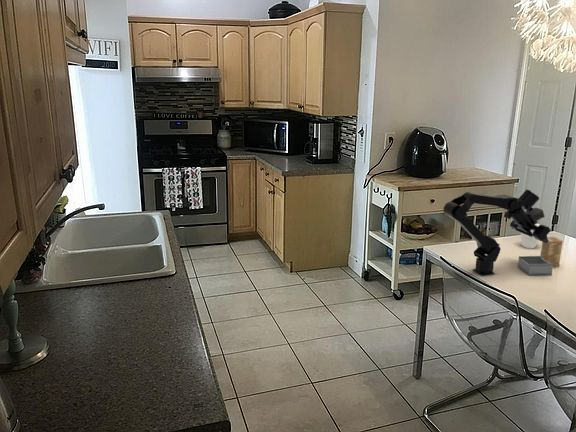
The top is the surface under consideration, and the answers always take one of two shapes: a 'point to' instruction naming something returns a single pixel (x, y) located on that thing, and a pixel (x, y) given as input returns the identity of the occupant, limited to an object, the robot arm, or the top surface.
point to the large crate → (535, 265)
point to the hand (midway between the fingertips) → (539, 239)
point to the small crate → (552, 251)
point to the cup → (528, 240)
